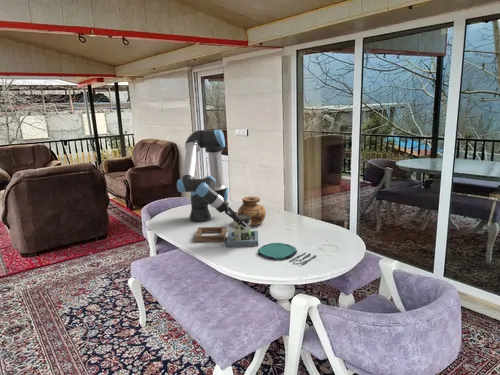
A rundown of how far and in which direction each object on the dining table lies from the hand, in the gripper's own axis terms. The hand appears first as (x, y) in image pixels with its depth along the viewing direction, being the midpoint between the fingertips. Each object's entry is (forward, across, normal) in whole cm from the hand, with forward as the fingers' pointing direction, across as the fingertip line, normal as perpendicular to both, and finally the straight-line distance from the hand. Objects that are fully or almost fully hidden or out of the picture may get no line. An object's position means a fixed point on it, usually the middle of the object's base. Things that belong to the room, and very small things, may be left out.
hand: (246, 225), depth 217 cm
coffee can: (+4, 0, -8) cm, 9 cm away
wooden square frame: (-7, -14, -20) cm, 25 cm away
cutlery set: (+17, +28, +3) cm, 33 cm away
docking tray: (+5, 0, -8) cm, 9 cm away
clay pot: (+14, -30, +1) cm, 33 cm away
